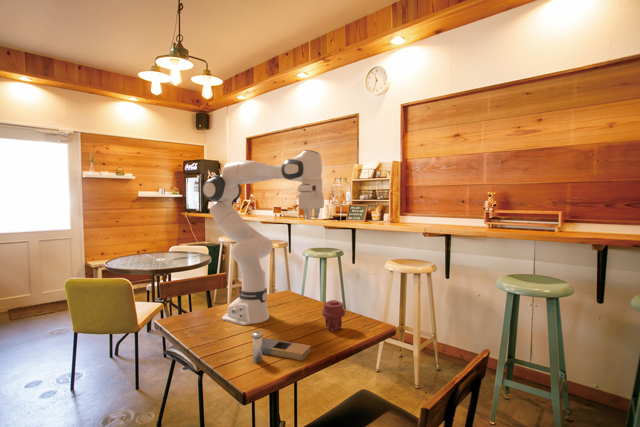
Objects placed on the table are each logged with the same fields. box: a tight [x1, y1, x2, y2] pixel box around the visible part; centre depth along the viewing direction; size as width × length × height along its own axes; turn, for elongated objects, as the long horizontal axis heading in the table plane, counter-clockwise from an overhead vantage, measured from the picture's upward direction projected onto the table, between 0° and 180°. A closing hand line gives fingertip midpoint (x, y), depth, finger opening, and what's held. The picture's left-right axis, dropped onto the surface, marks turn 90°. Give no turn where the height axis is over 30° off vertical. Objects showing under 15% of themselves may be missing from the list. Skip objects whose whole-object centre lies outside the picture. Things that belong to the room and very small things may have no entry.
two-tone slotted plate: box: [262, 337, 312, 362], centre depth 124 cm, size 20×7×2 cm, turn 69°
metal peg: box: [250, 330, 264, 364], centre depth 117 cm, size 4×4×10 cm
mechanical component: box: [321, 299, 346, 333], centre depth 145 cm, size 12×10×10 cm
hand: (312, 219), depth 146 cm, fingers open, 8 cm apart
